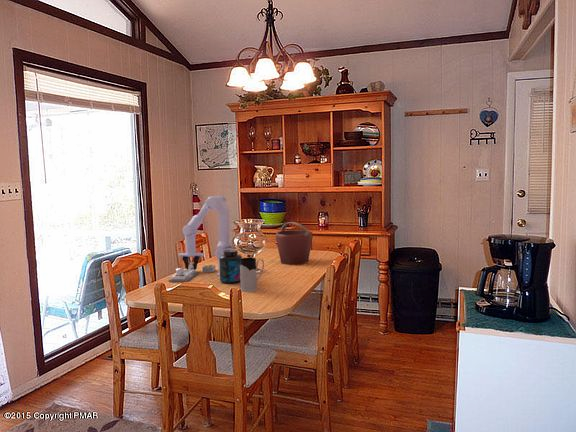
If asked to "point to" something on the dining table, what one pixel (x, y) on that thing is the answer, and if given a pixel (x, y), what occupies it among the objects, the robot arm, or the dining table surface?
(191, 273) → the pallet board
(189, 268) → the billet
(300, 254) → the bucket
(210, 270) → the console
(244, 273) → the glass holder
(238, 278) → the container
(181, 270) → the seated billet
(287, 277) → the dining table surface
